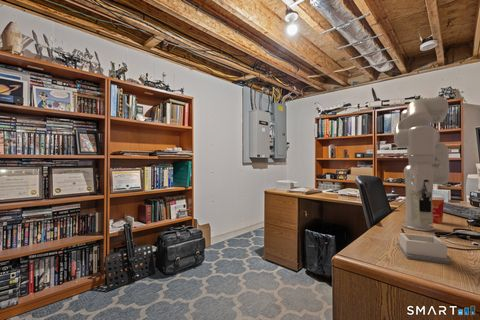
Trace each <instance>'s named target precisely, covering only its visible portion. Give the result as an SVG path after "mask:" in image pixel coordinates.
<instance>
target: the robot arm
mask: <svg viewBox="0 0 480 320" xmlns="http://www.w3.org/2000/svg"><path fill="white" fill-rule="evenodd" d="M448 112H449V103H448V100H447V99H446V98H445V97H442V96H437V97H427V98H419V99H416V100H412V101H411V102H410V103H409V104H408V105H407V108H406V109H404V110H403V111H402V112H401V113H400V120H399V121H398V122H397V123H396V125H395V127H394V131H393V132H394V133H393V143H394V145H395V146H396V147H398V148H400V149H402V148H403V149H406V153H407V154H406V155H407V159H408V165H406V166H405V167H404V169H403V177H404V184H405V221H404V222H402V223H401V225H402V226H403V227H404V228H406V229H411V230H414V231H422V232H424V231H425V232H432V231H434V229H435V226H433V225H431V224H419V223H416V222H414V221H412V220H411V200H410V190H412V191H414V192H418V191H420V200H419V211H420V212H431V193H432V194H433V191H434V185H445V184H447V183H448V182H449V181H450V157H449V155H450V154H449V148H448V145H447V144H446V143H444V142H440V138H441V137H440V136H441V135H440V132H439V131H438V130H437V129H436V127H434V126H431V124H440V123H442V122H444V121H445V119H446V116H447V115H448ZM421 190H425V191H421Z"/></svg>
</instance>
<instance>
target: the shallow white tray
mask: <svg viewBox="0 0 480 320" xmlns="http://www.w3.org/2000/svg"><path fill="white" fill-rule="evenodd" d="M398 233H399V242H396V245H397V247H398V248H399V250H400V251H401V252H402V253H403V255H404V256H405V258H406V259H408V260H416V261H423V262H431V263H437V264H438V263H440V264H444V265H445V264H446V265H452V261H451V260H450V258H448V250H447V249H448V244H447V243H445V242H444V241H443V240H442V239H440V238H439V237H437V236H436V235H428V234H427V235H426V234H415V233H407V232H398Z"/></svg>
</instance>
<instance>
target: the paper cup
mask: <svg viewBox="0 0 480 320" xmlns="http://www.w3.org/2000/svg"><path fill="white" fill-rule="evenodd" d="M445 200H446V199H445V198H444V196H441V195H433V194H432V206H433V224H438V225H440V224H443V220H444V219H443V218H444V217H443V216H444V204H445Z"/></svg>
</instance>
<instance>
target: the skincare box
mask: <svg viewBox="0 0 480 320" xmlns="http://www.w3.org/2000/svg"><path fill="white" fill-rule="evenodd" d="M421 191H425V190H421ZM432 195H433V192H432V193H431V212H420V211H419V200H420V191H418V192H414V191H412V190H410V200H411V220H412V221H414V222H416V223H419V224H430V225H431V226H433V224H434V223H433V206H432Z"/></svg>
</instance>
